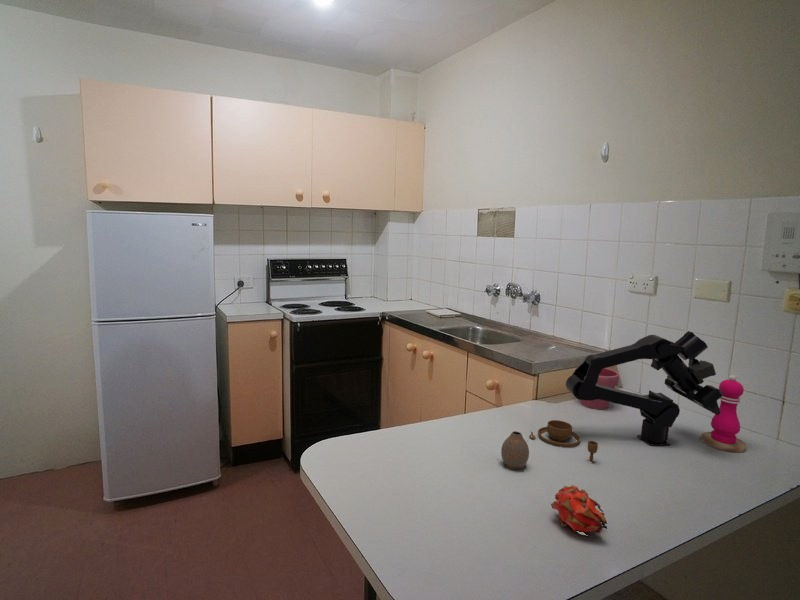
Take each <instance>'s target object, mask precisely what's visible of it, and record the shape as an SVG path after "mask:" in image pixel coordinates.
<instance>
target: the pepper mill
mask: <svg viewBox="0 0 800 600" xmlns="http://www.w3.org/2000/svg"><path fill="white" fill-rule="evenodd" d="M737 378H738V377H737V376H736V375H734V374H731V375H729V379H725V380H722V381H721V382H720V383H719V386H718V389H719V390H720V391H721V392H722V394H723V396H722V397H720V398H719V399H718V400H720V404H719V409H720V412H721V413H720V414H719V415H716V414H714V415H713V417H711V421H710V426H711V428H712V430H711V431H710V432H711V438H712V439H714V440H716V441H718V442H721V443H725V444H735V443H736V439H737V436H736V435H738V434H739V433H740V431H741V423H740V420H739V418H738V415H737V413H738V412H737V407H738V404H740V401H741V398H740V397H742V396H743V394H744V391H745V390H744V386H743V385H742V383H740V382H739V381H737Z"/></svg>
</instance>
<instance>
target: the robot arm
mask: <svg viewBox="0 0 800 600" xmlns="http://www.w3.org/2000/svg"><path fill="white" fill-rule="evenodd" d="M708 348H709V347H708V344H707V343H706V342H705V341H704V340H703V339H701V338H700V337H699V336H698V335H696V334H695V333H694V332H692V331H690V330H688V331H686V332H685V333H684V334H683V335H682V336H681V337H680V338H678V340H676V341H675V342H674V341H671V340H668V339H666V338H664V337H661V336H658V335H656V334H647V335H646V336H644V337H642V338H639V339H638V340H637V341H635V342H634V343H632V344H630V345H626V346H622V347H618V348H614V349H611V350H607V351H603V352H600V353H595V354H588V355H587V356H586V358H585V359H584V360H583V362H582V363H580V365H579V366H577V367H576V368H575V370H574V371H573V373H572V374H571V375H569V377H567V380H566V382H565V387H566V389H567V391H569V392H570V394H572V396H574V397H575V398H576V399H578V400H580V401H581V400H588V401H593V400H604V401H608V402H609V403H611V404H612V403H613V404H617V405H621V406H626V407H630V408H634V409H638V410H639V413H640V416H641V417H643V419H642V422H641V423H642V424H641V430H640V431H641V432H640V434H637V435H636V437H637V438H639V439H640V440H642V442H645V443H646V444H647V445H649V446H657V447H658V446H670V445H671V443H670V442H668V439H669V431H670V428H672V427H673V425H674V423H675V421H676V419H677V418H678V417H679V415H680V411H681V410H680V407H679V405H678V404H677V403H676V402H674V399H672V398H670V397H668V396H667V395H665V394H664V393H662V392H654V391H652V390H649V391H648V394H639V393H635V392H631V391H627V390H626V391H625V390H622V389H618V388H611V387H607V386H603V385H599V384H597V381H598V377H599V374H600V372H601V370H602V369H604V368H608V369H609V368H612V367H615V366H619V365H623V364H627V363H629V362H634V361H638V360H651V363H650V368H652V369H655V370H656V371H659V370H661V369H662V371H663V372H664V373H665V374H666V375H667V376H666V378H665V379H664V385H665V386H666V387H667V388H668V389H670V390H671V391H673V392H674V393H676V394H678V395H679V396H682V397H684V398H685V399H687V400H689V401H691V402H692V403H695V404H697V405H698V406H699V407H702V408H703V409H705V410H707V411H708V412H710V413H712V414H714V415H715V414H716V415H719V414H720V413H721V412H720V409H719V408H720V405H719V403H718V400H720V399H719V398H720V397H722V396H723V394H722V392H721V391H720V390H719V387H718V388H717V387H715V386H713V385H710V384H706V385H704V386H702V384H703V383H704V382H705V380H704V379H707V378H709V377H714V376H716V375H717V372H716V370H715V366H714V364H713V363H711V362H709V361H706V360H702V359H701V360H699V359H698V358H697V357H698V356H700V355H701V354H702V353H703V352H705V350H707V349H708ZM687 360H688V364H686V363H685V362H684V361H687ZM585 376H586V377H585Z"/></svg>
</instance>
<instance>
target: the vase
mask: <svg viewBox="0 0 800 600" xmlns="http://www.w3.org/2000/svg"><path fill="white" fill-rule="evenodd" d="M500 451H501V452H500V454H501V455H500V456H501V459H502V462H503V463H504V464H505V466H507V467H508V468H509V469H512V468H514V469H513V470H519V468H520V469H521V468H523V467H525V466H526V465H527V462H528V460H529V458H530V449H529V445H528V443H527V442H526V440H525V438H524V437H523V434H522V432H520V431H516V430H514V431H512V432H511V433H510V434H509V436H508V437H506V438H505V440H504V441H503V443H502V446H501V450H500Z"/></svg>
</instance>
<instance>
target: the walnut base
mask: <svg viewBox="0 0 800 600" xmlns="http://www.w3.org/2000/svg"><path fill="white" fill-rule="evenodd" d="M711 432H712V431H705V432H702V433H701V435H700V436H701V437H700V438H701V439H700V440H701V442H702V443H703V444H705V445H706V446H708V447H711V448H713V449H716V450H720V451H723V452H728V453H733V454H734V453H735V454H737V453H738V454H739V453H745V451H746V447H747V446H746V445H747V444H746V442H744V440H741V438H740V439H739V438H737V439H736V443H735V444H725V443H721V442H718V441H716V440H714V439H712V438H711Z"/></svg>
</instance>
